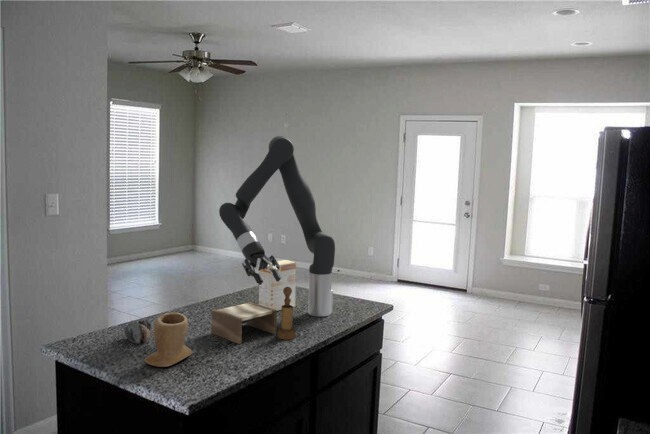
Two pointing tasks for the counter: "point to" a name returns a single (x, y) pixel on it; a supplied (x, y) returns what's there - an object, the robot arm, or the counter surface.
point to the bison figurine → (138, 331)
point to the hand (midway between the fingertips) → (270, 281)
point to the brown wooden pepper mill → (287, 318)
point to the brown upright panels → (232, 325)
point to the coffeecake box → (277, 285)
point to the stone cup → (169, 340)
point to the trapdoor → (246, 311)
